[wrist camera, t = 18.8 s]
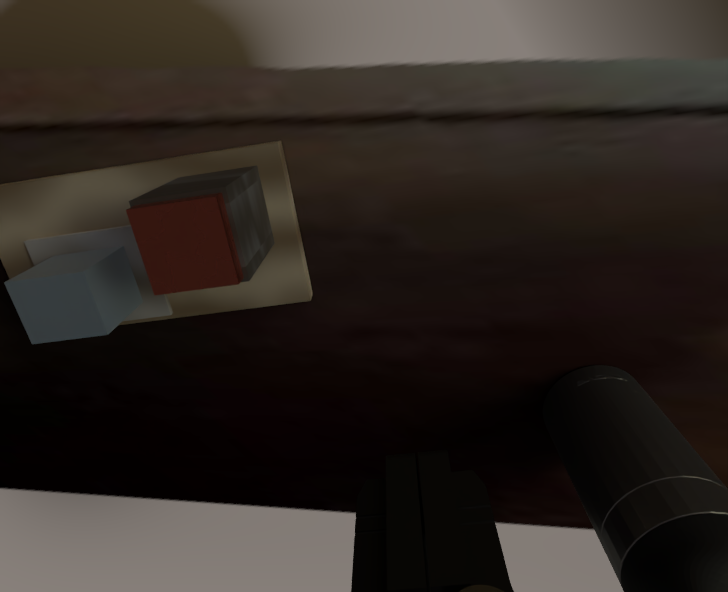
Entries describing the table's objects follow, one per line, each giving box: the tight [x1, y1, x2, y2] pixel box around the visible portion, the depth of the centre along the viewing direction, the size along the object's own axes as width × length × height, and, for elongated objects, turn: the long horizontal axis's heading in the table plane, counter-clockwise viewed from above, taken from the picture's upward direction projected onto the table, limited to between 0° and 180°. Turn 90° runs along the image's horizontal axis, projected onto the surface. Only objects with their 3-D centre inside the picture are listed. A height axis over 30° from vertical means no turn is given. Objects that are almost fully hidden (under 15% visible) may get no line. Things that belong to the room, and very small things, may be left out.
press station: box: [0, 141, 313, 325], centre depth 38 cm, size 13×25×10 cm, turn 99°
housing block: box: [4, 246, 143, 344], centre depth 40 cm, size 5×6×6 cm
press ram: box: [126, 193, 244, 295], centre depth 35 cm, size 6×6×7 cm
